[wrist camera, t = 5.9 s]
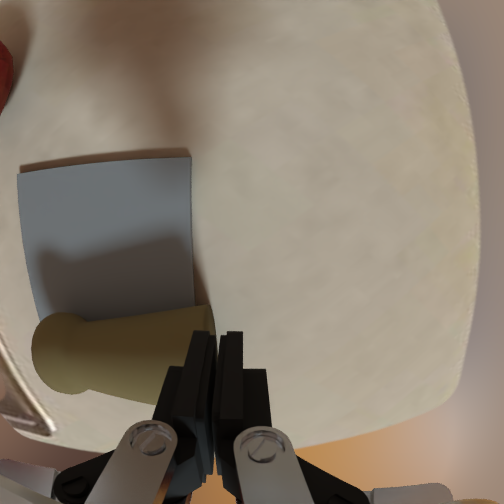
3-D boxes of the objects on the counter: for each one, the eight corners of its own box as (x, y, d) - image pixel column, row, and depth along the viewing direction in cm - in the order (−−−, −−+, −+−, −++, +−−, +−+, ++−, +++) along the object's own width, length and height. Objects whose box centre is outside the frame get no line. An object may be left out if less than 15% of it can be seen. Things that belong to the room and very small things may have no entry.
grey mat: (21, 173, 15) (16, 174, 14) (191, 157, 15) (190, 157, 15) (55, 356, 19) (52, 359, 18) (200, 375, 19) (199, 380, 19)
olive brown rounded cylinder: (207, 280, 16) (45, 285, 16) (198, 374, 11) (3, 355, 11) (219, 350, 19) (78, 346, 19) (217, 431, 14) (54, 412, 14)
